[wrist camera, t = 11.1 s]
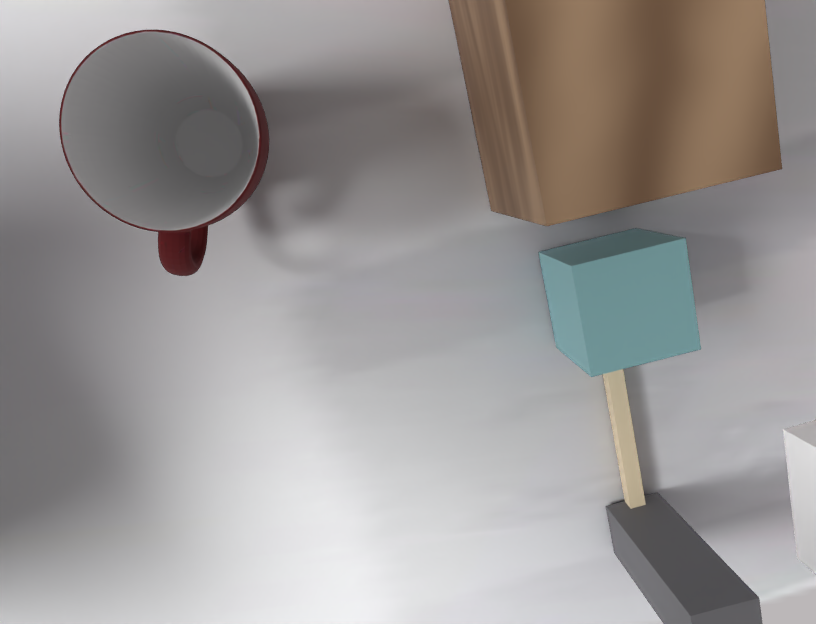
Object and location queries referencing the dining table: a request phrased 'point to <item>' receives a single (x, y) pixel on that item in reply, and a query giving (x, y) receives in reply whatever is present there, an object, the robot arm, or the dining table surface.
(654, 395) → the dining table surface
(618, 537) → the double-ended block stick
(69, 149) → the mug
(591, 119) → the shelf
